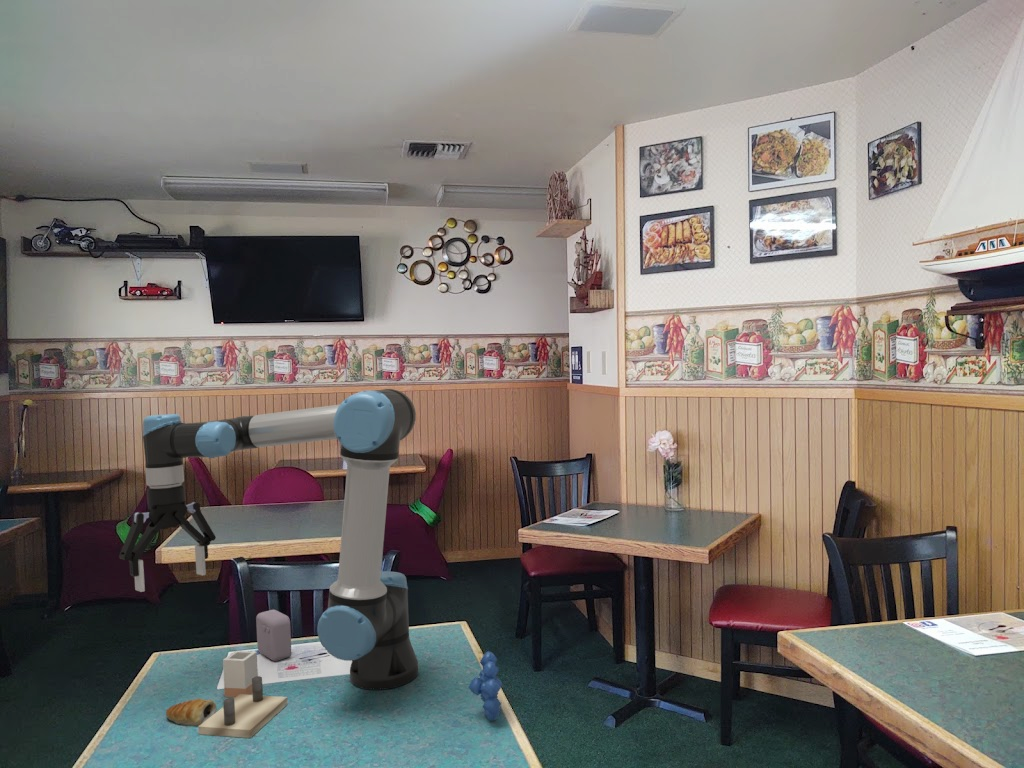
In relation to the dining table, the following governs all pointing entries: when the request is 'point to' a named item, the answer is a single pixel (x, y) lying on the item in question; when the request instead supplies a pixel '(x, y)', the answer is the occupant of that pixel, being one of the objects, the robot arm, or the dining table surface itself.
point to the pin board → (243, 713)
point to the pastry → (191, 712)
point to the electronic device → (273, 635)
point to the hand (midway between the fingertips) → (171, 582)
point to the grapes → (488, 686)
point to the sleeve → (239, 673)
